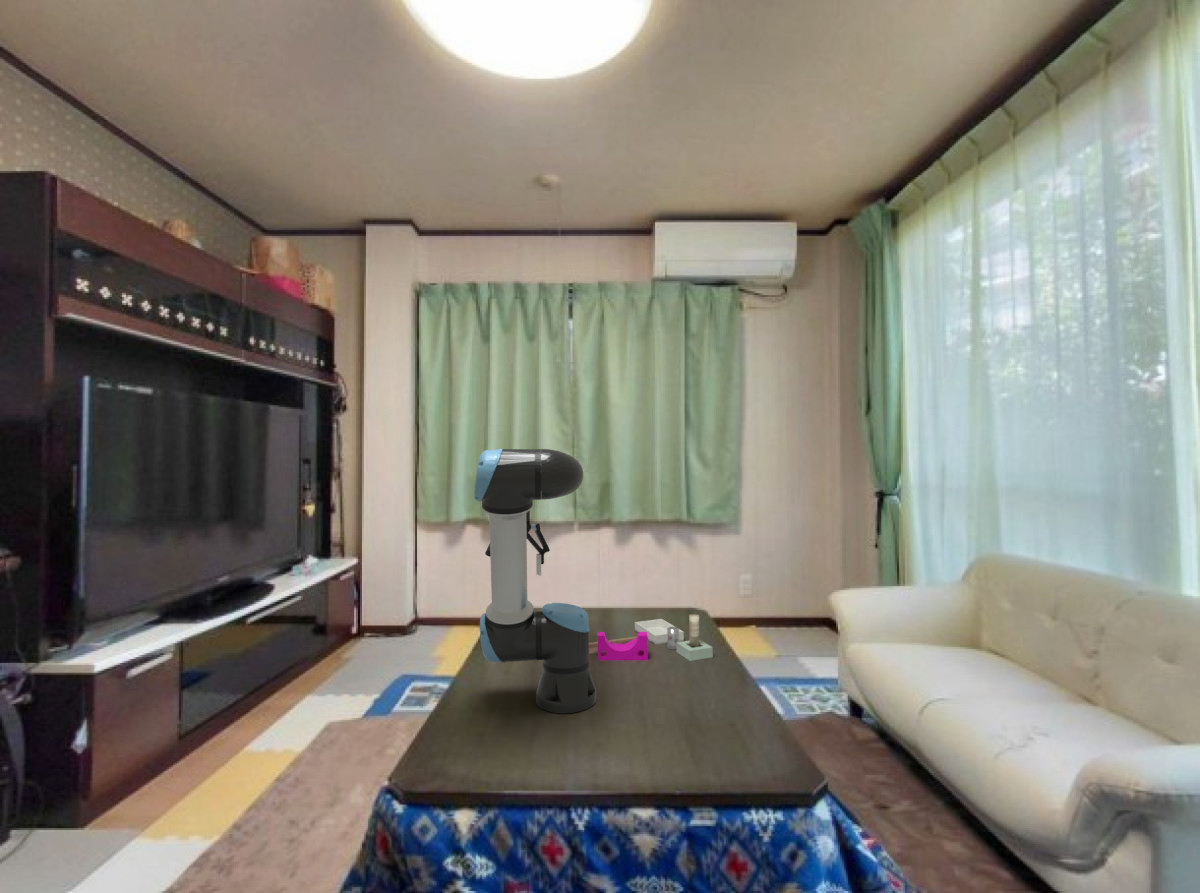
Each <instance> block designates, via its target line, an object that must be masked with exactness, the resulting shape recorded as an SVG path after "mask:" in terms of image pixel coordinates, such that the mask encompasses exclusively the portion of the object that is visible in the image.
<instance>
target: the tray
mask: <svg viewBox="0 0 1200 893" xmlns="http://www.w3.org/2000/svg"><path fill="white" fill-rule="evenodd" d="M668 627H676V626H675V625H673V624H672V623H670V622H668V621H666V620H665V619H663V618H658V619H651V620H640V621H634V632H636V633H637V634H638V632H647V635H648V642H650V643H651V644H653V645H654V646H657V645H666V644H667V628H668ZM683 641H685V631H683V630H681V629H680V628H679V642H683Z"/></svg>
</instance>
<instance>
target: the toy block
mask: <svg viewBox="0 0 1200 893" xmlns="http://www.w3.org/2000/svg"><path fill="white" fill-rule="evenodd" d="M636 635H637V637H636V639H633V640H631V641H630V642H628V643H626V644H616V643H614V642H613V645H612V644H611V643H610V642H609V641H608V640H609V639H608V638H607V636H606V632H605V631H598V632H597V642H598V653H597V661H598V660H601V661H649V650H648V649H649V643H648V642H649V640H648V635H647V632H638V633H637V634H636ZM603 650H604V651H606V652H601V651H603Z"/></svg>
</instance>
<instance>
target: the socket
mask: <svg viewBox="0 0 1200 893" xmlns="http://www.w3.org/2000/svg"><path fill="white" fill-rule="evenodd" d="M676 644H677V649H676V653H677V654H679V655H680V656H681V657H683V658H685V659H686V660H687V661H689V662H692V661H698V660H704V659H711V658H713V657H714V653H713V652H714V649H713V646H711V645H709V643H707V642H705V641H703V640H701V639H699V647H694V648H691V647H690V646H689V640H684V641H680V642H676Z"/></svg>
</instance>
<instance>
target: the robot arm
mask: <svg viewBox="0 0 1200 893" xmlns="http://www.w3.org/2000/svg"><path fill="white" fill-rule="evenodd" d="M583 479H584V471H583V467H582V464H581V463H580V462H579V460H578V459H576V458H575V457H574V456H572V455H570V454H568V453H566V452H562V451H560V450H555V449H550V448H536V449H535V448H534V449H533V448H532V449H531V448H530V449H529V448H525V449H524V448H523V449H522V448H521V449H520V448H518V449H517V448H514V449H513V448H499V449H486V450H483V451H482V452H481V453H480V455H479V459H478V462H477V469H476V476H475V484H474V500H475V501H478V502H481V508H482V510H483V511H484V512H485V513H486V514H487V515H488V521H489V522H488V523H489V524H488V525H489V544H488V546H487V549H486V550H485V552H484V554H485V555H486V556H487V557H490V582H491V583H490V584H491V585H490V586H491V603H490V604H488V606H486V609H485V613H482V614H481V616H480V620H479V632H480V637H479V639H480V647H481V651H482V654H483V656H484V659H486V661H488V662H490V663H503V664H505V663H512V662H513V663H514V662H529V661H530V662H532V661H542V672H541V676H540V677H539V681H538V684H537V687H536V688H537V689H536V692H535V704H536V705H537V706H538V707H539V708H540V709H542V710H543V711H546V712H550V713H556V714H573V713H580V712H582V711H586V710H589V709H590V708H591V707H593V706H594V705H595V703H596V702H597V688H596V685H595V682H594V679H593V675H592V673H591V671H590V654H589V643H590V638H589V637H590V635H589V634H590V633H589V632H590V631H591V628H590V624H589V622H590V621H589V613H588V612H587V611H586V610H585V609H584V608H582V607H580V606H579V605H578V606H577V605H574V604H571V603H567V602H566V603H565V602H552V603H546V604H544V605H543V607H542V608H541V611H540V610H537V611H535V610H534V609H535V607H534V605H533V604H532V602H531V601H529V600H528V554H527V552H528V548H527V547H528V546H527V545H528V543H527V541H528V542H529V543H530V544H531V545H532V546H533V548H534V549H535V550H536V552H538V553H536V556H535V557H536V559H535V561H536V563H535V564H536V568H535V569H536V570H535V571H536V572H535V573H536V575H538V576H539V577H540V576H542V565H544V563H545V554H546V553H548V552H550V551H551V550H550V548H549V545H548V544H547V541H546V539H545V537H544V535H543V533H542V530H541V525H540V523H537V522H535V523H533V524H531V521H530V520H531V510H532V508H533V504H534V503H533V501H539V500H540V501H541V500H543V501H544V500H553V499H557V498H561V497H564V496H568V495H570V494H572V493H575V491H577V490H578V489H579V488H580V487H581V485H582V482H583ZM531 529H532V531H534V533H535V536H536V537H537V538H538V541H539V542H540V545H539V544H538V542H537V541H536V540H535V539H534V538H533V536H532V535H531V534H530V531H531ZM541 546H542V547H541Z"/></svg>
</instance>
